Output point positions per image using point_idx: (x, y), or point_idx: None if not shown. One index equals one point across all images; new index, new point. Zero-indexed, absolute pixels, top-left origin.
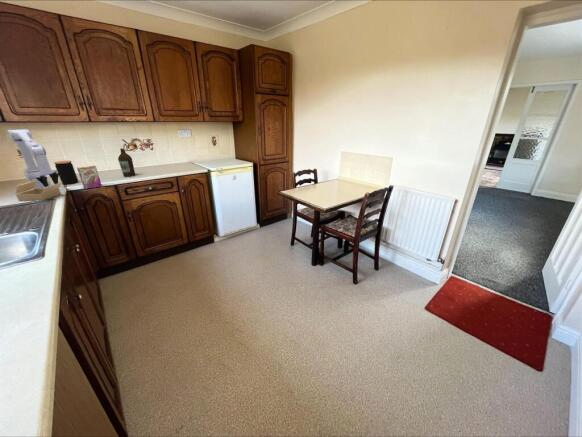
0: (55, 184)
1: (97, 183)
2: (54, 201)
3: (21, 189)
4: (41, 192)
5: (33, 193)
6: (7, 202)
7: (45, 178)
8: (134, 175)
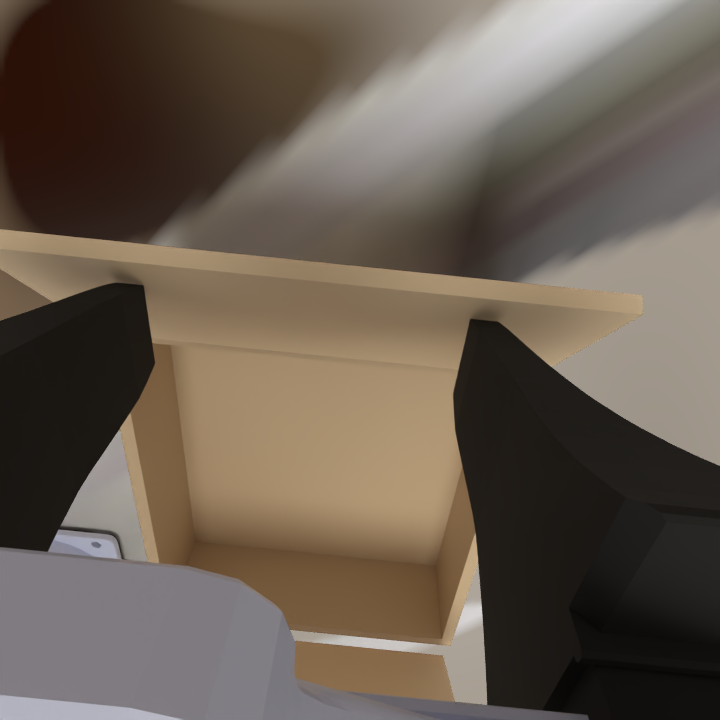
0: (268, 260)
1: None
2: (661, 48)
3: (374, 679)
4: (182, 524)
5: (241, 570)
6: (467, 619)
7: (706, 486)
8: None
